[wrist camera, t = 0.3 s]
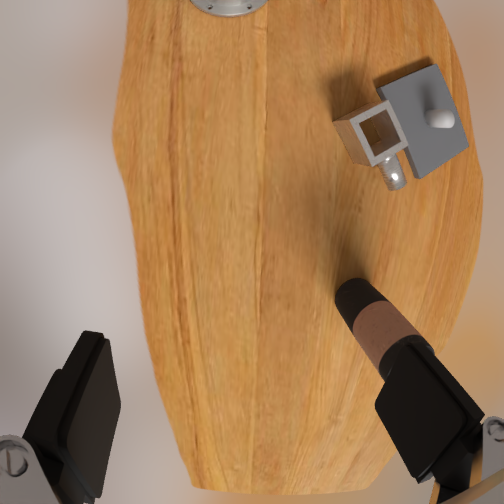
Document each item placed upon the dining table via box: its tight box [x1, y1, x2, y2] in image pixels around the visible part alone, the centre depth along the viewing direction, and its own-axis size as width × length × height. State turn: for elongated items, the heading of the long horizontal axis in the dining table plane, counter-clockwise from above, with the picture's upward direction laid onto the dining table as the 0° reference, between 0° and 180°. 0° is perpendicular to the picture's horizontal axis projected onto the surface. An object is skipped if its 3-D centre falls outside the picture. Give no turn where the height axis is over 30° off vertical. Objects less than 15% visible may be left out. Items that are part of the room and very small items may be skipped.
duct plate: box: [376, 64, 469, 179], centre depth 38 cm, size 16×14×6 cm
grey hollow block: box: [333, 100, 409, 191], centre depth 39 cm, size 12×7×6 cm, turn 31°
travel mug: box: [335, 278, 435, 381], centre depth 42 cm, size 8×8×20 cm
